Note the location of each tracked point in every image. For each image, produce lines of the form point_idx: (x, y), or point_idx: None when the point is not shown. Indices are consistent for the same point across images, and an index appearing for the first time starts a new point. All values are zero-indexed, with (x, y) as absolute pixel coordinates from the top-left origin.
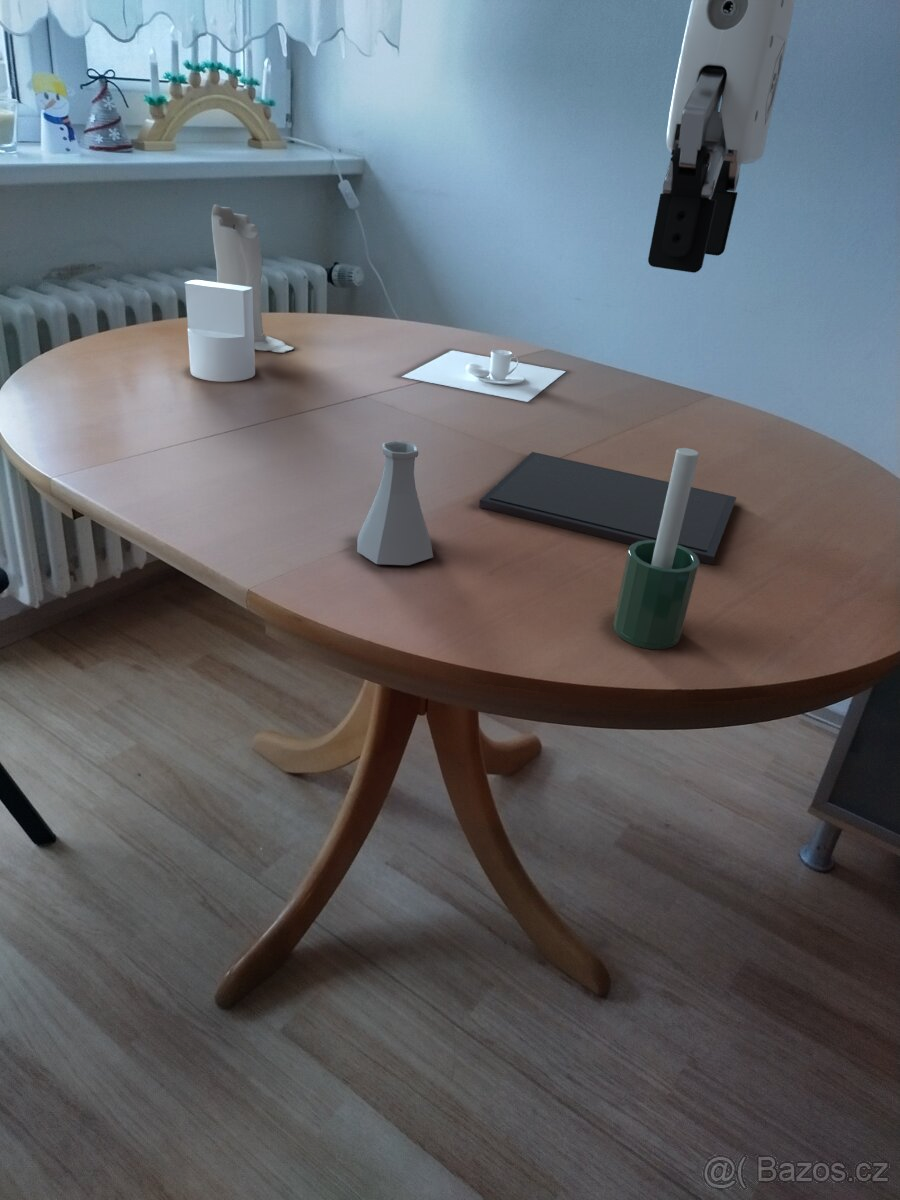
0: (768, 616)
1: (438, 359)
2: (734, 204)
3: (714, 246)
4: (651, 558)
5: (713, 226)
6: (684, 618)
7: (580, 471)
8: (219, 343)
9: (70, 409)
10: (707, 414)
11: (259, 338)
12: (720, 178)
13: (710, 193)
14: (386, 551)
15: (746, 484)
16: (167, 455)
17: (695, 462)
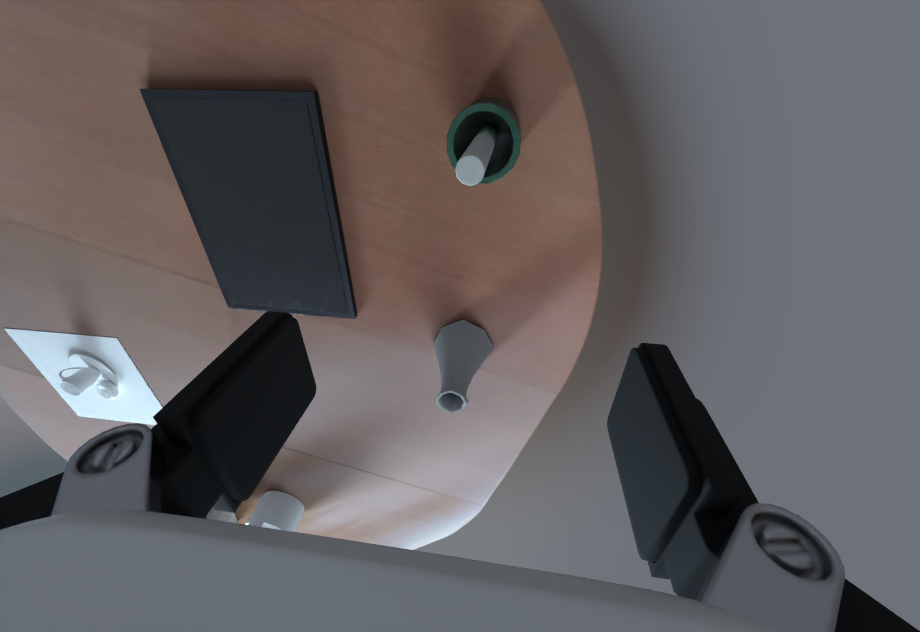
0: (390, 3)
1: (110, 418)
2: (196, 390)
3: (292, 338)
4: (459, 157)
5: (270, 379)
6: (494, 99)
7: (232, 261)
8: (283, 525)
9: (400, 531)
10: None
11: (214, 509)
12: (165, 494)
13: (808, 531)
14: (487, 348)
15: (76, 81)
16: (421, 481)
17: (477, 154)
